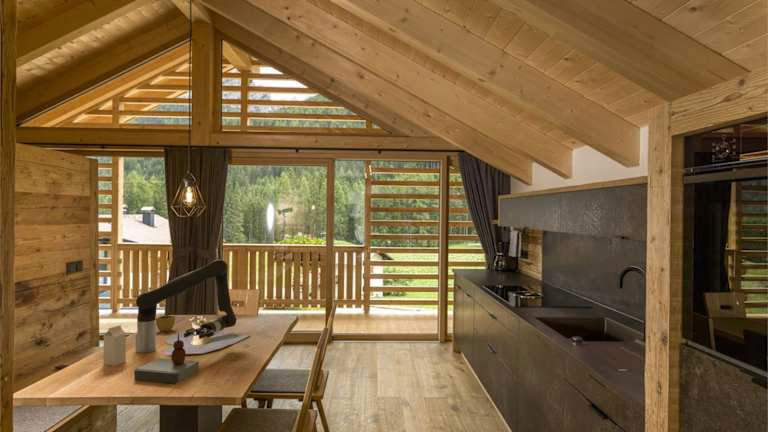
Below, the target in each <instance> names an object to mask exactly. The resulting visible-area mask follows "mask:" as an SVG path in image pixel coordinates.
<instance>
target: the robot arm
mask: <svg viewBox="0 0 768 432" xmlns="http://www.w3.org/2000/svg"><path fill="white" fill-rule="evenodd" d="M228 269H229V268H228V263H227V262H226V261H225V260H223V259H215V260H213V261H211V262H210V263H208V264H206V265H204V266H202V267H200V268H198V269H195V270H192V271H189V272H187V273H185V274H182V275H180V276H177V277H175V278H173V279H172V280H170V281H168V282H166V283H165V284H164V285H161V286H160V287H158V288H155V289H152V290H145V291H142V292H141V293H140V294H139V295H138V296H137V298H136V299H135V300H136V301H135V304H136V306H137V308H138V310H137V317H136V318H137V319H136V320H137V322H136V325H137V326H136V329H137V330H136V334H135V352H137V353H138V354H139V353H140V354H146V353H151V352H155V351H156V349H157V348H156V347H157V346H156V345H157V344H156V343H157V342H156V341H157V340H156V339H157V335H156V334H157V330H156V329H157V325H156V318H157V305H158V304H159V303H160V302H161V303H162V301H165V300H166V299H167V300H168V299H169V298H173V297H175V296H178V295H180V294H183V293H185V292H188V291H190V290H191V289H193V288H195V287H197V286H198V285H200V284H202V283H203V282H204V281H206V280H208V279H211V278H215V281H216V282H215V283H216V296H217V299H216V301H217V307H218V312H220V313H221V312H224V313H225V315H221V316H219V317H217V318H216V319H212V320H209V321H207V322H205V323H202V324H201V325H200V327H197V328H195V327H191V328H189V329H185V333H183V337H184V338H188V337H191V336H192V337H197V336H198V339H199V340H200V339H203V338H211V337H213V336H215V335H216V334H217V333H219V332H221V331H223V330H224V329H226V328H227V329H228V328H231V327H235V326H236V323H237V316H236V315H235V312H234V310H233V308H232V302H231V295H230V290H229V284H228V271H229V270H228Z"/></svg>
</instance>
